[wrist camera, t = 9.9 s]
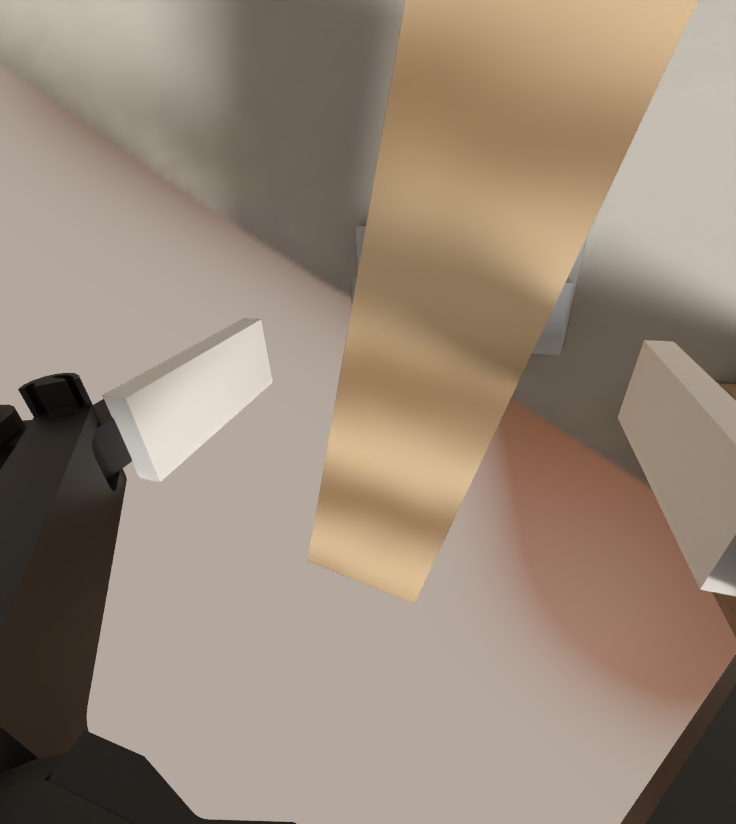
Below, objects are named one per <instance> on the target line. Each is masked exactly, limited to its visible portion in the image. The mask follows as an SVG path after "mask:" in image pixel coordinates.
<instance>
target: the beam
mask: <svg viewBox="0 0 736 824" xmlns="http://www.w3.org/2000/svg"><path fill="white" fill-rule="evenodd" d="M697 1H698V0H405V5H404V11H403V17H402V22H401V28H400V34H399V40H398V45H397V51H396V57H395V62H394V68H393V74H392V80H391V85H390V91H389V97H388V103H387V108H386V114H385V120H384V126H383V131H382V137H381V143H380V148H379V154H378V160H377V166H376V171H375V177H374V183H373V189H372V194H371V200H370V206H369V212H368V217H367V223H366V229H365V235H364V240H363V246H362V252H361V257H360V263H359V269H358V275H357V280H356V286H355V292H354V298H353V303H352V309H351V315H350V321H349V326H348V333H347V338H346V344H345V349H344V355H343V361H342V367H341V373H340V378H339V384H338V389H337V395H336V401H335V407H334V413H333V419H332V424H331V430H330V436H329V442H328V447H327V453H326V458H325V464H324V470H323V475H322V482H321V487H320V493H319V499H318V504H317V510H316V516H315V522H314V527H313V533H312V539H311V545H310V550H309V556H308V561H309V562H311V563H314V564H316V565H319V566H321V567H324V568H326V569H329V570H331V571H333V572H336V573H338V574H341V575H343V576H346V577H349V578H351V579H353V580H356V581H359V582H361V583H363V584H366V585H368V586H371V587H373V588H376V589H379V590H381V591H383V592H386V593H388V594H391V595H393V596H396V597H398V598H401V599H404V600H406V601H408V602H411V603H413V604H414V603H415V601H416V599H417V597H418V595H419V593H420V591H421V589H422V586H423V584H424V582H425V580H426V578H427V576H428V574H429V571H430V569H431V567H432V565H433V563H434V561H435V559H436V557H437V555H438V552H439V550H440V548H441V546H442V544H443V542H444V540H445V537H446V535H447V533H448V531H449V529H450V527H451V525H452V523H453V520H454V518H455V516H456V514H457V512H458V510H459V507H460V506H461V503H462V501H463V499H464V497H465V495H466V493H467V491H468V488H469V486H470V484H471V482H472V480H473V478H474V475H475V474H476V472H477V469H478V467H479V465H480V463H481V461H482V459H483V457H484V454H485V452H486V450H487V448H488V446H489V444H490V442H491V440H492V438H493V435H494V433H495V431H496V429H497V427H498V425H499V423H500V420H501V418H502V416H503V414H504V412H505V410H506V408H507V406H508V403H509V401H510V399H511V397H512V395H513V393H514V391H515V389H516V386H517V384H518V382H519V380H520V378H521V376H522V374H523V372H524V369H525V367H526V365H527V363H528V361H529V359H530V357H531V355H532V352H533V350H534V348H535V346H536V344H537V342H538V340H539V338H540V335H541V333H542V331H543V329H544V327H545V325H546V323H547V320H548V318H549V316H550V314H551V312H552V310H553V308H554V306H555V303H556V301H557V299H558V297H559V295H560V293H561V291H562V289H563V286H564V284H565V282H566V280H567V278H568V276H569V274H570V272H571V269H572V267H573V265H574V263H575V261H576V259H577V257H578V255H579V252H580V250H581V248H582V246H583V244H584V242H585V240H586V238H587V235H588V233H589V231H590V229H591V227H592V225H593V223H594V221H595V218H596V216H597V214H598V212H599V210H600V208H601V206H602V203H603V201H604V199H605V197H606V195H607V193H608V191H609V189H610V186H611V184H612V182H613V180H614V178H615V176H616V174H617V172H618V169H619V167H620V165H621V163H622V161H623V159H624V157H625V155H626V152H627V150H628V148H629V146H630V144H631V142H632V140H633V138H634V135H635V133H636V131H637V129H638V127H639V125H640V123H641V121H642V118H643V116H644V114H645V112H646V110H647V108H648V106H649V103H650V101H651V99H652V97H653V95H654V93H655V91H656V89H657V86H658V84H659V82H660V80H661V78H662V76H663V74H664V72H665V69H666V67H667V65H668V63H669V61H670V59H671V57H672V55H673V52H674V50H675V48H676V46H677V44H678V42H679V40H680V38H681V35H682V33H683V31H684V29H685V27H686V25H687V23H688V21H689V18H690V16H691V14H692V12H693V10H694V8H695V6H696V3H697Z"/></svg>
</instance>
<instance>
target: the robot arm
mask: <svg viewBox="0 0 736 824" xmlns="http://www.w3.org/2000/svg"><path fill="white" fill-rule="evenodd" d="M271 383H273V380H272V374H271V369H270V364H269V359H268V353H267V348H266V342H265V337H264V332H263V326H262V321H261V319H247V318H246V319H245V318H244V319H242V320H240V321H239V322H237V323H235V324H233V325H231V326H229V327H228V328H226V329H224V330H222V331H220V332H218V333H216V334H214V335H213V336H211V337H209V338H207V339H205V340H203V341H202V342H200V343H198V344H196V345H194V346H192V347H190V348H189V349H187V350H185V351H183V352H181V353H180V354H178V355H176V356H174V357H172V358H170V359H168V360H166V361H165V362H163V363H161V364H159V365H158V366H155V367H153V368H152V369H150V370H148V371H146V372H144V373H143V374H141V375H139V376H137V377H135V378H133V379H131V380H129V381H128V382H126V383H124V384H122V385H120V386H118V387H117V388H115V389H113V390H111V391H109V392H107V393H105V394H104V395H103V398H104V399H103V400H101V401H99V402H98V403H96V404H94V405H92V402H91V400H90V398H89V396H88V394H87V392H86V390H85V387H84V386H83V383H82V381H81V379H80V377H79V375H77V374H75V373H61V374H54V375H50V376H45V377H42V378H39V379H36V380H33V381H31V382H29V383H27V384H24V385H23V386H22V387H20V388H19V389H18V390H19V391H20V393H21V395H22V397H23V399H24V400H25V402H26V404H27V406H28V407H29V409H30V411H31V413H32V414H33V416H34V418H33V420H25V421H22V419H21V418H20V416H19V414H18V413H17V411H16V409H15V408H14V406H11V405H0V824H296V823H294V822H271V821H239V820H236V821H235V820H208V819H203V818H200V817H198V816H196V815H195V814H194V813H193V812H192V811H191V810H190V809H189V807H188V806H187V805H186V804H185V803H184V802H183V801H182V799H181V798H180V797H179V796H178V795H177V794H176V792H175V791H174V790H173V789H172V788H171V787H170V786H169V784H168V783H167V782H166V781H165V780H164V779H163V777H162V776H161V775H160V774H159V773H158V772H157V771H156V769H155V768H154V767H153V766H152V765H151V764H150V762H149V761H148V760H147V759H146V758H145V757H144V756H142V755H140V754H137V753H135V752H133V751H131V750H128V749H126V748H124V747H122V746H119V745H117V744H115V743H112V742H110V741H108V740H106V739H103V738H101V737H99V736H96V735H94V734H92V733H90V732H89V731H88V727H87V717H86V715H87V705H88V699H89V694H90V688H91V682H92V676H93V671H94V664H95V659H96V653H97V647H98V642H99V636H100V630H101V625H102V619H103V613H104V607H105V602H106V596H107V590H108V584H109V579H110V573H111V566H112V562H113V556H114V550H115V544H116V538H117V533H118V526H119V521H120V516H121V510H122V504H123V498H124V492H125V487H126V481H127V479H126V475H125V473H124V471H123V467H125V466H126V465H127V464H129V463H130V462H132V463H133V465H134V467H135V469H136V471H137V474H138V476H139V478H143V479H148V480H153V481H158V482H161V481H162V480H163V479H164V478H165V477H166V476H168V475H169V474H170V473H171V472H172V471H173V470H174V469H175V468H177V467H178V466H179V465H180V464H181V463H182V462H183V461H185V460H186V459H187V458H188V457H189V456H190V455H191V454H192V453H194V452H195V451H196V450H197V449H198V448H199V447H200V446H201V445H202V444H204V443H205V442H206V441H207V440H208V439H209V438H211V437H212V436H213V435H214V434H215V433H216V432H217V431H218V430H219V429H220V428H222V427H223V426H224V425H225V424H226V423H227V422H229V421H230V420H231V419H232V418H233V417H234V416H235V415H236V414H238V413H239V412H240V411H241V410H242V409H243V408H244V407H245V406H247V405H248V404H249V403H250V402H251V401H252V400H253V399H255V397H257V396H258V395H259V394H260V393H261V392H262V391H264V390H265V388H267V387H268V386H269V385H270V384H271ZM618 420H619V422H620V424H621V426H622V428H623V430H624V432H625V434H626V436H627V438H628V440H629V443H630V445H631V447H632V449H633V451H634V453H635V455H636V457H637V459H638V461H639V463H640V465H641V467H642V470H643V472H644V474H645V476H646V478H647V480H648V482H649V484H650V486H651V488H652V490H653V492H654V495H655V497H656V499H657V501H658V503H659V505H660V507H661V509H662V511H663V513H664V515H665V517H666V519H667V521H668V523H669V526H670V528H671V530H672V532H673V534H674V536H675V538H676V540H677V542H678V544H679V546H680V549H681V551H682V553H683V555H684V557H685V559H686V561H687V563H688V565H689V567H690V569H691V571H692V574H693V576H694V578H695V580H696V582H697V584H698V586H699V588H700V589H701V590H706V591H711V592H716V593H721V594H726V595H731V596H736V400H734V399H733V398H732V397H731V396H730V395H729V394H728V393H727V392H726V391H725V390H724V389H723V388H722V387H721V386H720V385H719V384H718V383H717V382H716V381H715V380H713V379H712V378H711V377H710V376H709V375H708V374H707V373H706V372H705V371H704V370H703V369H702V368H701V367H700V366H699V365H698V364H697V363H696V362H695V361H694V360H692V359H691V358H690V357H689V356H688V355H687V354H686V353H685V352H684V351H683V350H682V349H681V348H680V347H679V346H678V345H677V344H676V343H675V342H672V341H654V340H644V341H643V344H642V347H641V350H640V353H639V356H638V359H637V362H636V365H635V368H634V371H633V374H632V377H631V380H630V383H629V385H628V388H627V391H626V394H625V397H624V400H623V403H622V406H621V409H620V412H619V415H618ZM621 824H736V655H735V656H734V658H733V659H732V661H731V662H730V664H729V665H728V667H727V668H726V670H725V671H724V673H723V674H722V676H721V677H720V679H719V680H718V681H717V683H716V684H715V686H714V687H713V689H712V690H711V692H710V693H709V695H708V696H707V698H706V699H705V700H704V702H703V703H702V705H701V706H700V708H699V709H698V711H697V712H696V714H695V715H694V717H693V718H692V720H691V721H690V722H689V724H688V725H687V727H686V728H685V730H684V731H683V733H682V734H681V736H680V737H679V739H678V740H677V742H676V743H675V745H674V746H673V747H672V749H671V750H670V752H669V753H668V755H667V756H666V758H665V759H664V761H663V762H662V764H661V765H660V767H659V768H658V769H657V771H656V772H655V774H654V775H653V777H652V778H651V780H650V781H649V783H648V784H647V786H646V787H645V788H644V790H643V791H642V793H641V794H640V796H639V797H638V799H637V800H636V802H635V803H634V805H633V806H632V808H631V809H630V810H629V812H628V813H627V815H626V816H625V818H624V819H623V821H622V822H621Z"/></svg>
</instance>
